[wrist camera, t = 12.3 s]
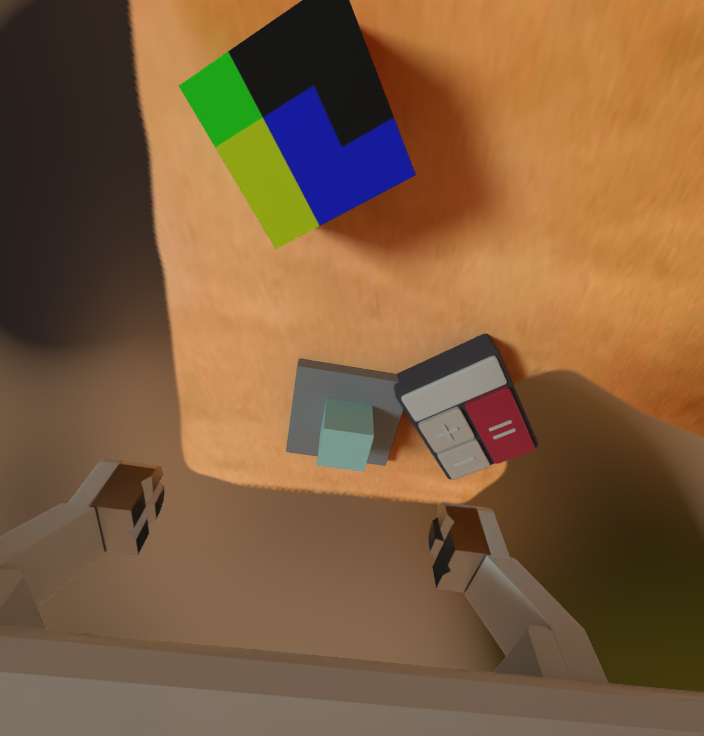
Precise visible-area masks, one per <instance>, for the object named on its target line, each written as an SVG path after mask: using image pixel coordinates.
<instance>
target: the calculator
mask: <svg viewBox="0 0 704 736" xmlns="http://www.w3.org/2000/svg"><path fill="white" fill-rule="evenodd" d="M397 377H398V381H399V382H398V383H396V384H395V385H394V391H395V396H396V399H397V400H398V402H399V403H400V405H401V406H402V408H403V409H404V411H405V413H406V414H407V416H408V417H409V419H410V420H411V422H412V423H413V425H414V427H415V428H416V430H417V431H418V433H419V434H420V436H421V437H422V439H423V440H424V442H425V444H426V445H427V447H428V448H429V450H430V451H431V453H432V454H433V456H434V458H435V459H436V461H437V462H438V464H439V465H440V467H441V468H442V470H443V471H444V473H445V475H446V476H447V478H448V479H453V480H454V479H458V478H460V477H463V476H466V475H468V474H471V473H474V472H476V471H479V470H482V469H484V468H487V467H489V466H490V465H491V464H494V463H496V464H497V463H501V462H503V461H506V460H509V459H511V458H514V457H517V456H519V455H522V454H525V453H527V452H530V451H532V450H534V449H535V448H536V447H538V442H537V440H536V437H535V435H534V433H533V430H532V428H531V425H530V423H529V421H528V418H527V416H526V414H525V412H524V409H523V407H522V404H521V402H520V400H519V397H518V395H517V393H516V390H515V388H514V386H513V383H512V381H511V378H510V376H509V374H508V371H507V369H506V367H505V364H504V362H503V360H502V357H501V355H500V353H499V351H498V349H497V347H496V346H495V344H494V343H493V341H492V339H491V338H490V336H489V335H488V334H482V335H480V336H478V337H476V338H474V339H471V340H469V341H467V342H465V343H463V344H461V345H458V346H456V347H454V348H452V349H450V350H448V351H445V352H443V353H441V354H439V355H437V356H435V357H432V358H430V359H428V360H426V361H424V362H422V363H419V364H417V365H415V366H413V367H411V368H409V369H406V370H404V371H402V372H400V373H398V374H397Z"/></svg>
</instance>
